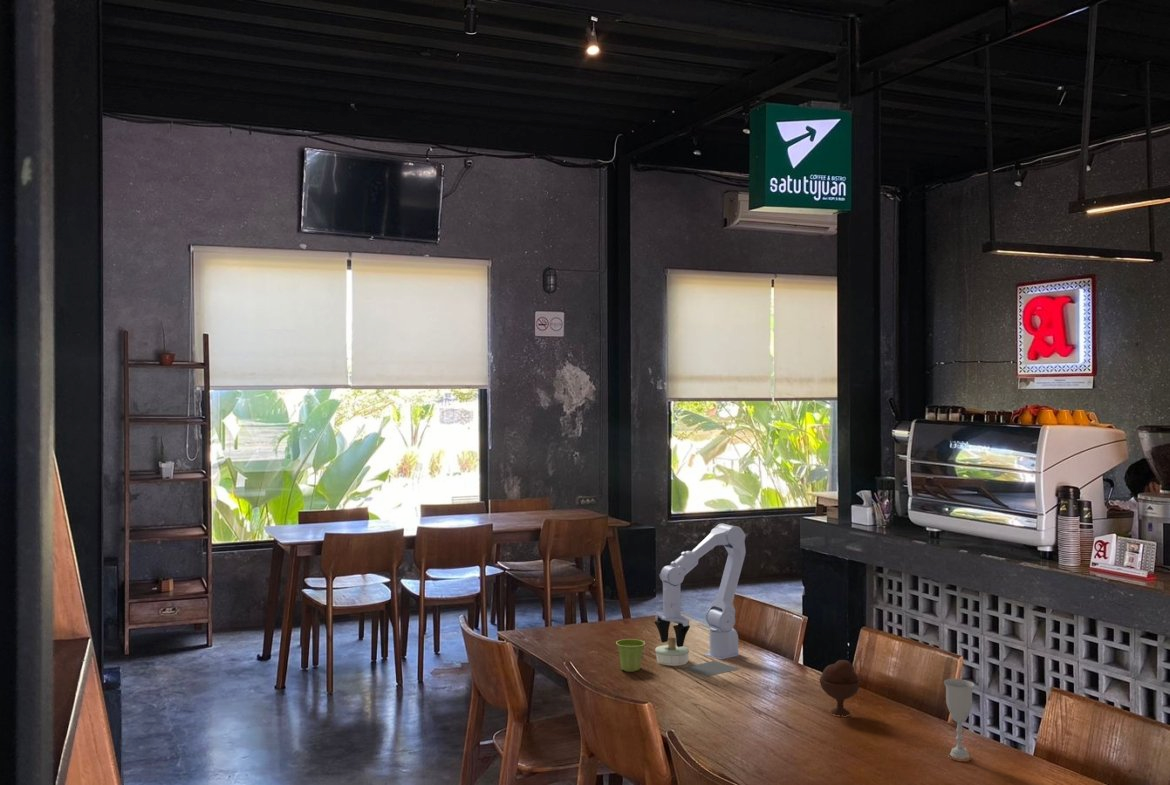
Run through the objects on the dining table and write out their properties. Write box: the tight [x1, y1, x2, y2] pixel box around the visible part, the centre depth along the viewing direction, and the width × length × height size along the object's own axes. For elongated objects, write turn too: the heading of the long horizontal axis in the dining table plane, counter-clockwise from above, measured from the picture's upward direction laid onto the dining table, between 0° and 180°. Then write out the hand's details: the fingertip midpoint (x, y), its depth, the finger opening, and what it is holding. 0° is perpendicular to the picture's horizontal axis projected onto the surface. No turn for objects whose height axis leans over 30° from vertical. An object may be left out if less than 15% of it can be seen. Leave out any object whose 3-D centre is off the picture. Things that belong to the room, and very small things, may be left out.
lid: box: [655, 637, 690, 656], centre depth 326 cm, size 11×11×4 cm
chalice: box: [943, 678, 975, 759], centre depth 238 cm, size 7×7×18 cm
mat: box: [682, 660, 740, 677], centre depth 317 cm, size 14×12×1 cm
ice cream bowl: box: [819, 659, 861, 716], centre depth 272 cm, size 11×11×15 cm
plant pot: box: [615, 638, 646, 673], centre depth 318 cm, size 9×9×9 cm
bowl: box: [655, 652, 689, 667], centre depth 326 cm, size 10×10×4 cm
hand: (672, 644), depth 326 cm, fingers open, 7 cm apart
